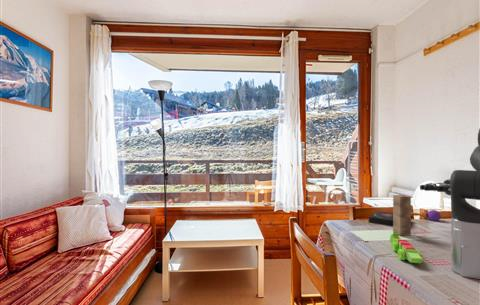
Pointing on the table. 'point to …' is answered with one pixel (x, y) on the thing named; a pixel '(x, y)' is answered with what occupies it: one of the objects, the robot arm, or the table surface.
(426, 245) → the table surface
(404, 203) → the walnut block
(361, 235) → the sage mat
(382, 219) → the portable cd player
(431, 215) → the kendama
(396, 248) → the toy crocodile
